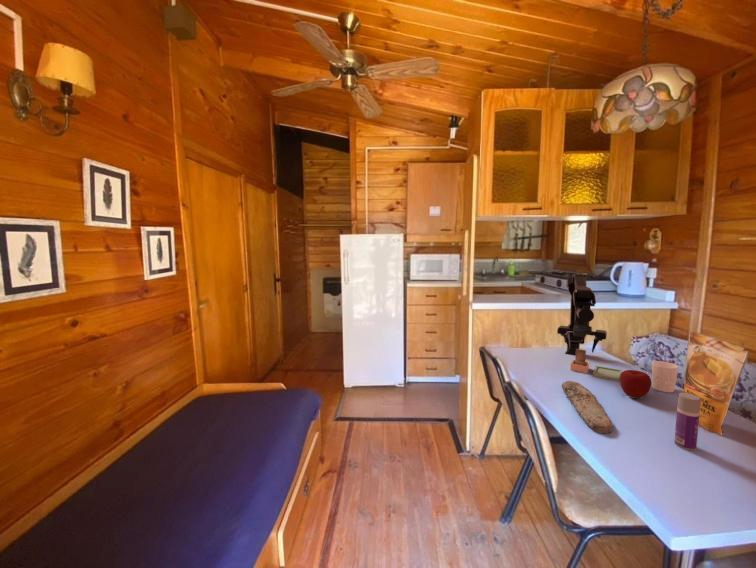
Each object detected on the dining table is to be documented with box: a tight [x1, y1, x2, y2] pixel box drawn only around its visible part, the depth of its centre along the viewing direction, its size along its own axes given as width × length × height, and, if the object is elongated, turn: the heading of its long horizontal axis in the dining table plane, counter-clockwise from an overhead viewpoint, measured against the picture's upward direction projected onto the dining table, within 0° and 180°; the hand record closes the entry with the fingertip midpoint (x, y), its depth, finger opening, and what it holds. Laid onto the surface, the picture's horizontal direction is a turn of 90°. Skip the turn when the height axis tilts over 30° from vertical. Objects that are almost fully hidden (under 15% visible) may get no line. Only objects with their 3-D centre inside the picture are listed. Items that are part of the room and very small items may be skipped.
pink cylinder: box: [651, 360, 679, 393], centre depth 132 cm, size 8×8×10 cm
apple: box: [619, 369, 652, 399], centre depth 127 cm, size 10×10×10 cm
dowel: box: [574, 348, 587, 366], centre depth 153 cm, size 4×4×9 cm
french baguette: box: [561, 380, 613, 434], centre depth 120 cm, size 35×5×10 cm
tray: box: [592, 365, 623, 382], centre depth 147 cm, size 12×10×2 cm
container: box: [673, 392, 700, 451], centre depth 96 cm, size 5×5×15 cm
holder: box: [569, 359, 591, 374], centre depth 154 cm, size 7×7×4 cm
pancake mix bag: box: [683, 331, 749, 436], centre depth 107 cm, size 7×19×28 cm, turn 172°
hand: (580, 350), depth 153 cm, fingers open, 9 cm apart
